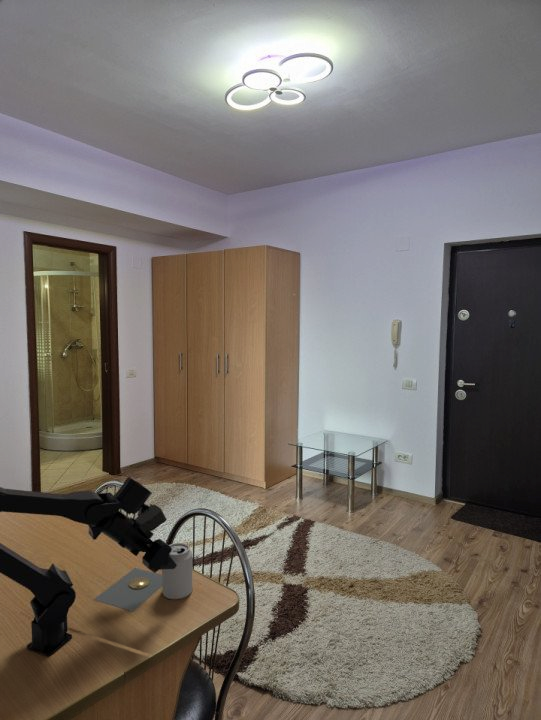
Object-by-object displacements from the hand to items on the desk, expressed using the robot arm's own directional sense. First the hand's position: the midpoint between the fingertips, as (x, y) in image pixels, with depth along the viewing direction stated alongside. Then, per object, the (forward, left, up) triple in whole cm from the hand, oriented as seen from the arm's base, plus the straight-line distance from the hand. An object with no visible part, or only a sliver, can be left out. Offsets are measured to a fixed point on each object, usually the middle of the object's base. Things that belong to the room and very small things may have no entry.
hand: (166, 559), depth 116 cm
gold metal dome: (+2, +10, -9) cm, 14 cm away
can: (+3, -1, -10) cm, 11 cm away
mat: (0, +10, -10) cm, 14 cm away
